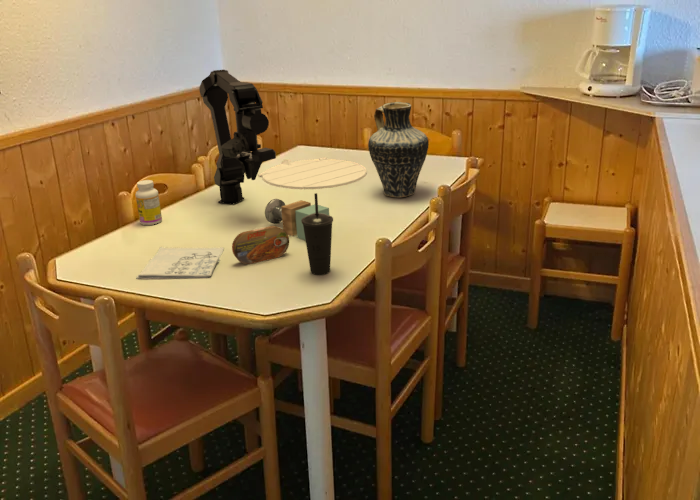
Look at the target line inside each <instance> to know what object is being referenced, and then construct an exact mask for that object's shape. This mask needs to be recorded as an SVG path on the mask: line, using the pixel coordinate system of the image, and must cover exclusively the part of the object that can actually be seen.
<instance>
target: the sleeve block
mask: <svg viewBox="0 0 700 500" xmlns="http://www.w3.org/2000/svg"><path fill="white" fill-rule="evenodd" d="M308 206H311V202H310V201H306V200H297V201H295V202H292V203H288V204H285V206H282V207H281V208H282V221H281V222H282V229H283V230H284V231H285V232H286V233H287V234H288V236H292V237H294V236H297V226H296V219H295V214H296V212H295V211H296V210H299V209H302V208H305V207H308Z"/></svg>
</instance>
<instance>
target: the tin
mask: <svg viewBox="0 0 700 500" xmlns="http://www.w3.org/2000/svg"><path fill="white" fill-rule="evenodd" d="M289 245H290V237H289V235H288V234H287V233H286V232H285V231H284V230H283V228H281V227H279V226H276V225H270V226H265V227H259V228H257V229H250V230H246V231H242V232H240V233H238V234H237V235H236V236H235V238H234V239H233V241H232V243H231V250H232V254H233V256H234V257H235V258H236V259H237V261H239V262H240V263H241V264H244V265H252V264H256V263H260V262H265V261H269V260H274V259H279V258H280V257H282V256H283V255H285V253H287V251H288V249H289V247H290V246H289Z"/></svg>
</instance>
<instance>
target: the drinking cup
mask: <svg viewBox="0 0 700 500" xmlns="http://www.w3.org/2000/svg"><path fill="white" fill-rule="evenodd" d="M314 204H315V212H316V213H314V214H310V215H308V216H306V217H304V218H302V220H301V222H302V224H303V228H304V234H305V240H306V241H305V240H304V241H305V245H306V251H307V257H308V264H309V270H310V273H311V275H315V276H323V275H327V274H329V273H330V272H331V257H332V256H331V255H332V236H333V235H332V233H333V222H334V217H333V216H332V215H330V214H329V215H326V214H323V213H318V205H319V199H318V193H314Z"/></svg>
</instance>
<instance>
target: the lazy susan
mask: <svg viewBox="0 0 700 500" xmlns="http://www.w3.org/2000/svg"><path fill="white" fill-rule="evenodd" d="M257 176H258V177H262V181H264V182H265V183H266V184H268V185H270V186H274V187H276V188H283V189H284V188H285V189H293V190H322V189H331V188H337V187H342V186H347V185H350V184H354V183H356V182H359V181H360V180H362V179H364V178H365V177H366V176H367V168H366V167H365V166H364V165H362V164H361V163H357V162H354V161H350V160H343V159H331V158H329V159H328V157H325V156H324V157H321V158H318V159H314V158H313V159H302V160H301V159H300V160H295V161H294V160H293V161H292V160H291V159H290V158H289V159H288V158H287V159H283V160H282V161H281V162H280V164H277V165H274V166H272V167H269V168H267V169H265V171H263V172H260V173H258V174H257Z"/></svg>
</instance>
